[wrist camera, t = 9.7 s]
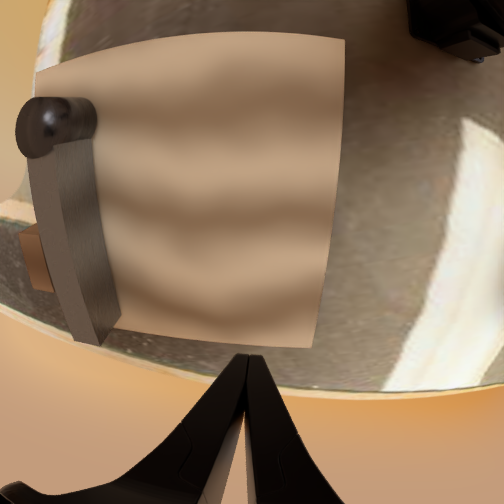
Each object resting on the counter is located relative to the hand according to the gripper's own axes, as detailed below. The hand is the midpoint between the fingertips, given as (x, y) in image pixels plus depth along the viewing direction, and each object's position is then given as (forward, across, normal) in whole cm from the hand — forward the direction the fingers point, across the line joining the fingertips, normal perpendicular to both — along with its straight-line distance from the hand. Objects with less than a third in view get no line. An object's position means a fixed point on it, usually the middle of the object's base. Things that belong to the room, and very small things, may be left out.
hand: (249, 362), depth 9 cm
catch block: (+10, +16, +1) cm, 19 cm away
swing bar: (+10, +13, -1) cm, 16 cm away
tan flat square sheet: (+12, +7, -2) cm, 14 cm away
